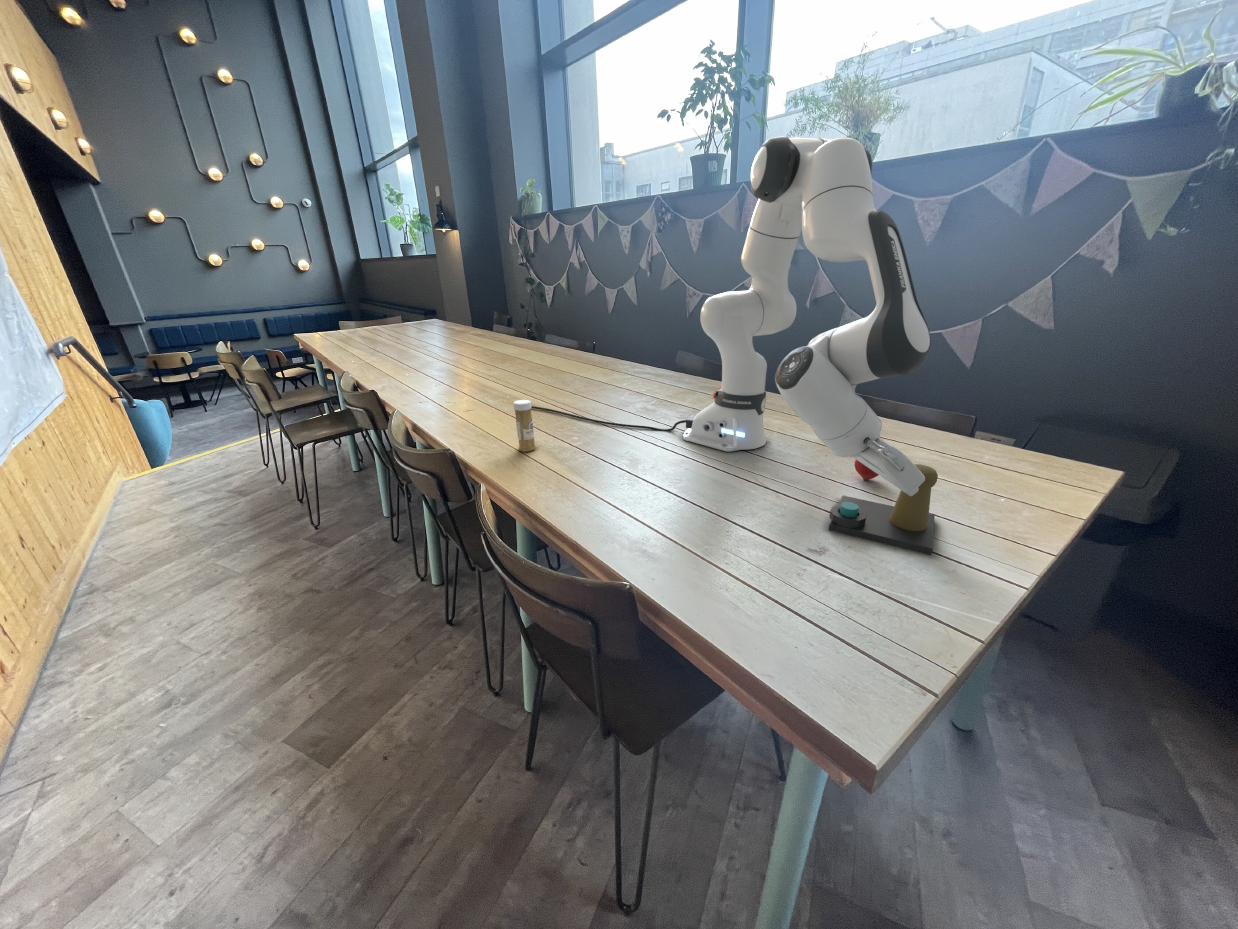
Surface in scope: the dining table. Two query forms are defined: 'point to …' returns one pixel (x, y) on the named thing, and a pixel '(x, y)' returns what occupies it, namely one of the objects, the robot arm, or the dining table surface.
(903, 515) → the cork
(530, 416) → the sprinkles bottle
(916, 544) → the scale
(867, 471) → the onion
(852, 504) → the button
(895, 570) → the dining table surface
